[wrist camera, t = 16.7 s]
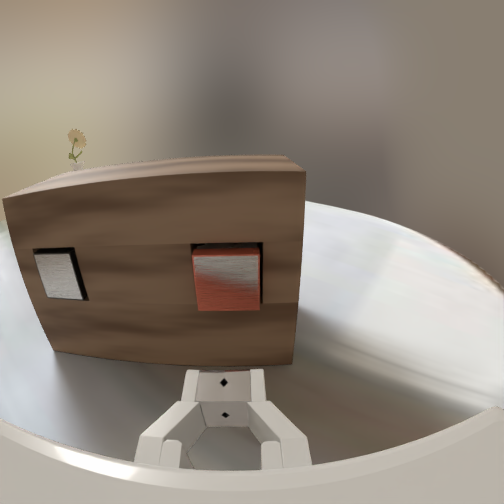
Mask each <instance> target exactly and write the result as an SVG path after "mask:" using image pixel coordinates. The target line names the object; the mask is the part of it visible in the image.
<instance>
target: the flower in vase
mask: <svg viewBox="0 0 504 504" xmlns="http://www.w3.org/2000/svg"><path fill="white" fill-rule="evenodd" d="M68 137H69V141H71V143H72V144H73V148H74V146H76V147H79V148H83V147H85V145H86V143H85V142H86V139H85V136H83V133H82V132H81V133H80V131H79V130H78V131H77V129H75V131H74V130H73V129H72V130H71V131H70V132H69V134H68ZM73 148H72V154H71V153H69V159H74V160H75V161H76V158H77V157H78V156H79V155H80V154H81V153H82V151H81V152H80V153H79V154H78V155H77V156H76V157H74V155H73ZM84 162H85V161H82V162H76V163H73V164H70V165H71V166H72V167H73V169H74V171H77V170H83V165H84Z"/></svg>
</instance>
